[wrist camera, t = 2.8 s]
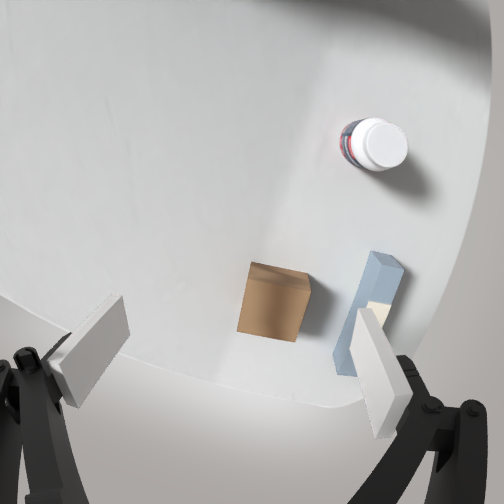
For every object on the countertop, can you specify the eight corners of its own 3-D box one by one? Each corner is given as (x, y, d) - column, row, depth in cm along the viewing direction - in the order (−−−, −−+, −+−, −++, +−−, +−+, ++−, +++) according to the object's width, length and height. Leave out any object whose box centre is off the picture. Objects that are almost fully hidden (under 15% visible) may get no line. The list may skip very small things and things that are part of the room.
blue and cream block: (332, 353, 41) (337, 375, 36) (370, 250, 35) (382, 265, 31) (351, 356, 40) (357, 377, 36) (391, 255, 35) (405, 270, 30)
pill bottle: (329, 136, 31) (346, 133, 23) (365, 112, 30) (393, 103, 21) (355, 175, 32) (380, 186, 24) (390, 152, 31) (424, 155, 22)
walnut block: (241, 309, 39) (236, 331, 35) (251, 261, 37) (247, 278, 32) (293, 319, 39) (294, 342, 35) (307, 272, 37) (311, 291, 32)
